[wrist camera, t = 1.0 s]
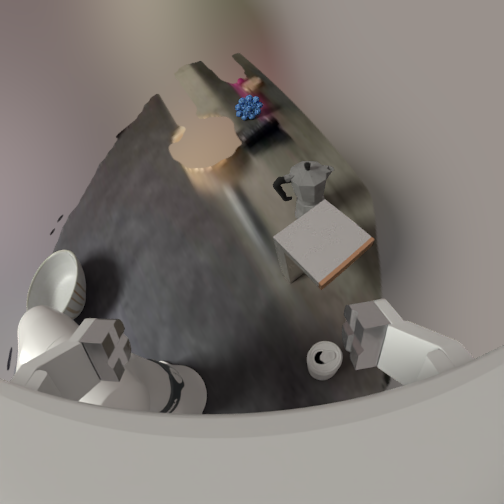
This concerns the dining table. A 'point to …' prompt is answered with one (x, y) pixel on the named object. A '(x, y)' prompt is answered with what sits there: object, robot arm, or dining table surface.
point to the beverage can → (324, 360)
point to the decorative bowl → (59, 284)
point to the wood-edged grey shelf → (320, 245)
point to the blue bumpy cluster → (248, 107)
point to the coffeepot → (305, 185)
